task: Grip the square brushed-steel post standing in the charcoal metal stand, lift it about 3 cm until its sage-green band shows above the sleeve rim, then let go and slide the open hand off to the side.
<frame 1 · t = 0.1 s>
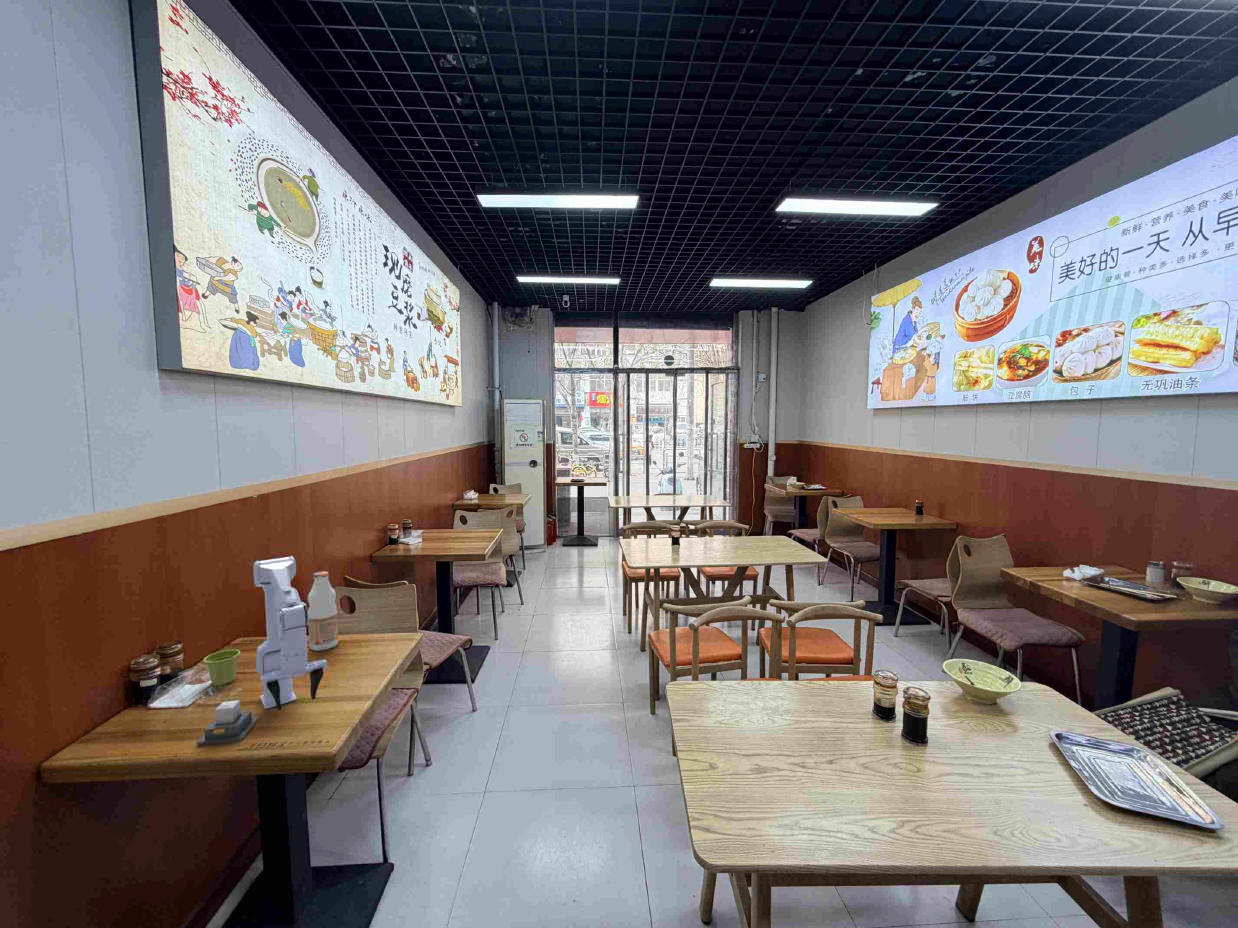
hand: (296, 702, 134), 10 cm above the table, fingers open, 7 cm apart
plant pot: (223, 682, 166), on the table
stand base: (229, 732, 138), on the table
fruit juice: (324, 646, 194), on the table
post: (228, 716, 138), point 4 cm above the table, slide at 0.0 cm
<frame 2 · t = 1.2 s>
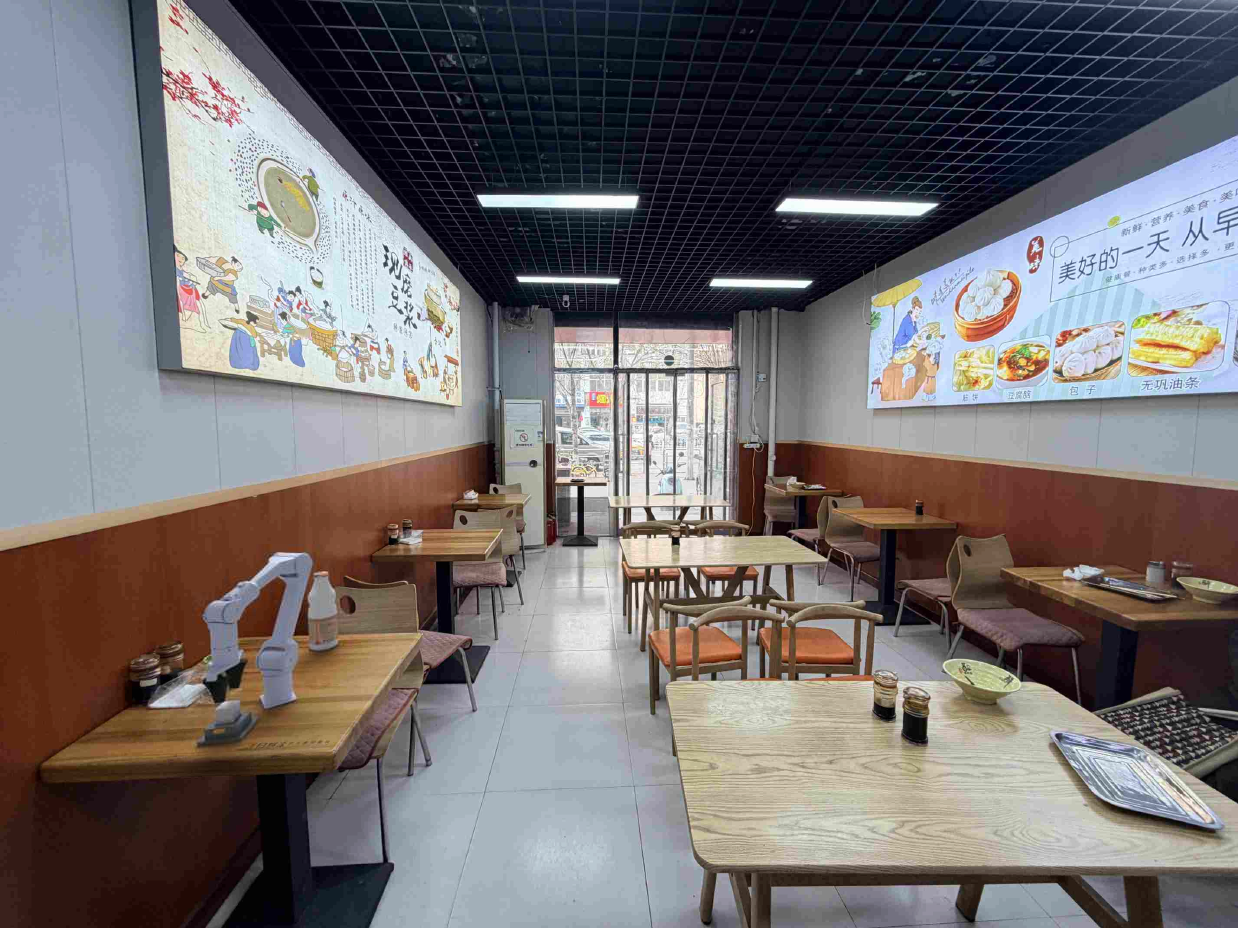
hand: (227, 694, 137), 10 cm above the table, fingers open, 7 cm apart
nothing on the table moved.
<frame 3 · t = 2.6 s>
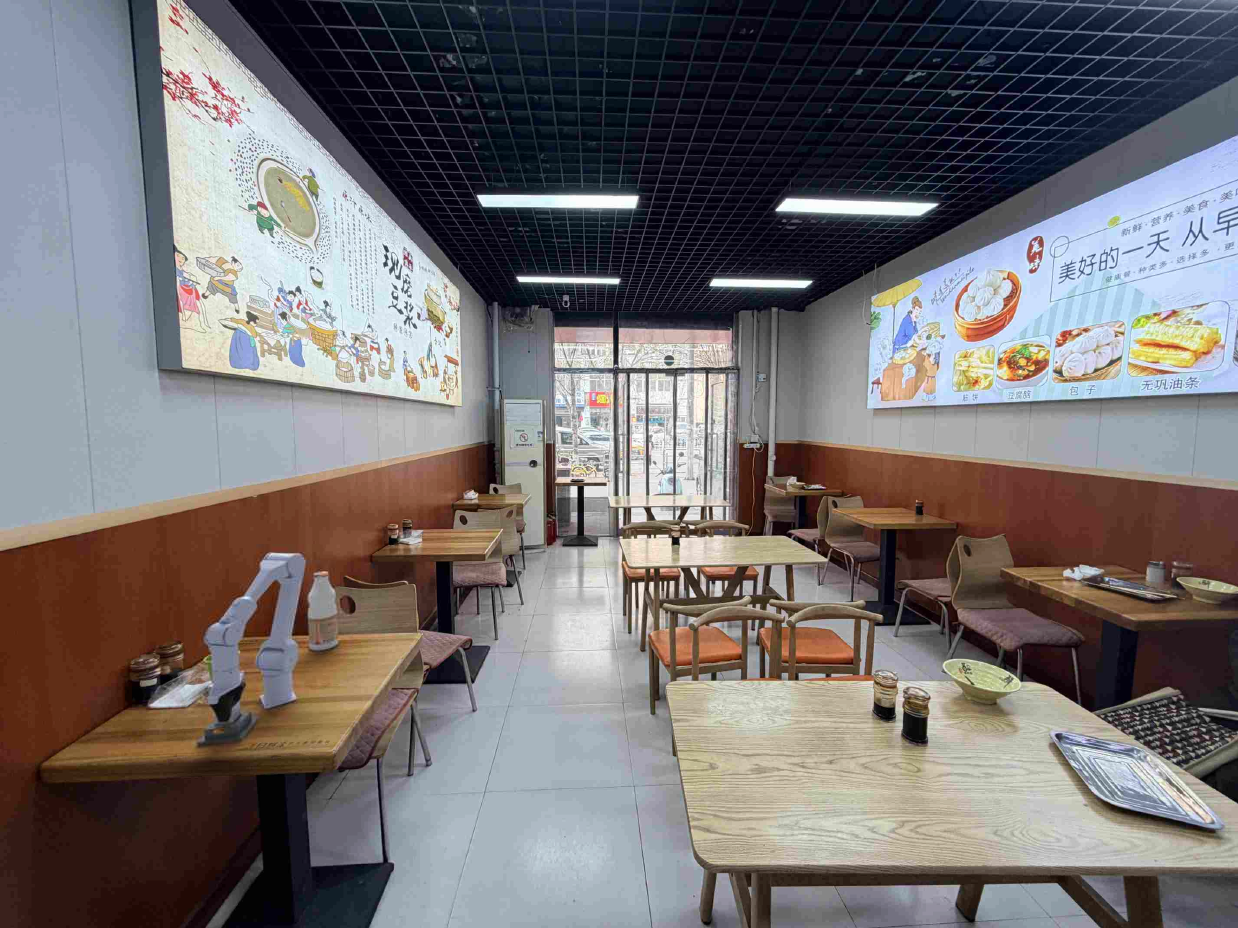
hand: (228, 716, 138), 4 cm above the table, fingers closed on post, 4 cm apart
post: (228, 716, 138), point 4 cm above the table, slide at 0.0 cm, touching gripper
everything else where it was.
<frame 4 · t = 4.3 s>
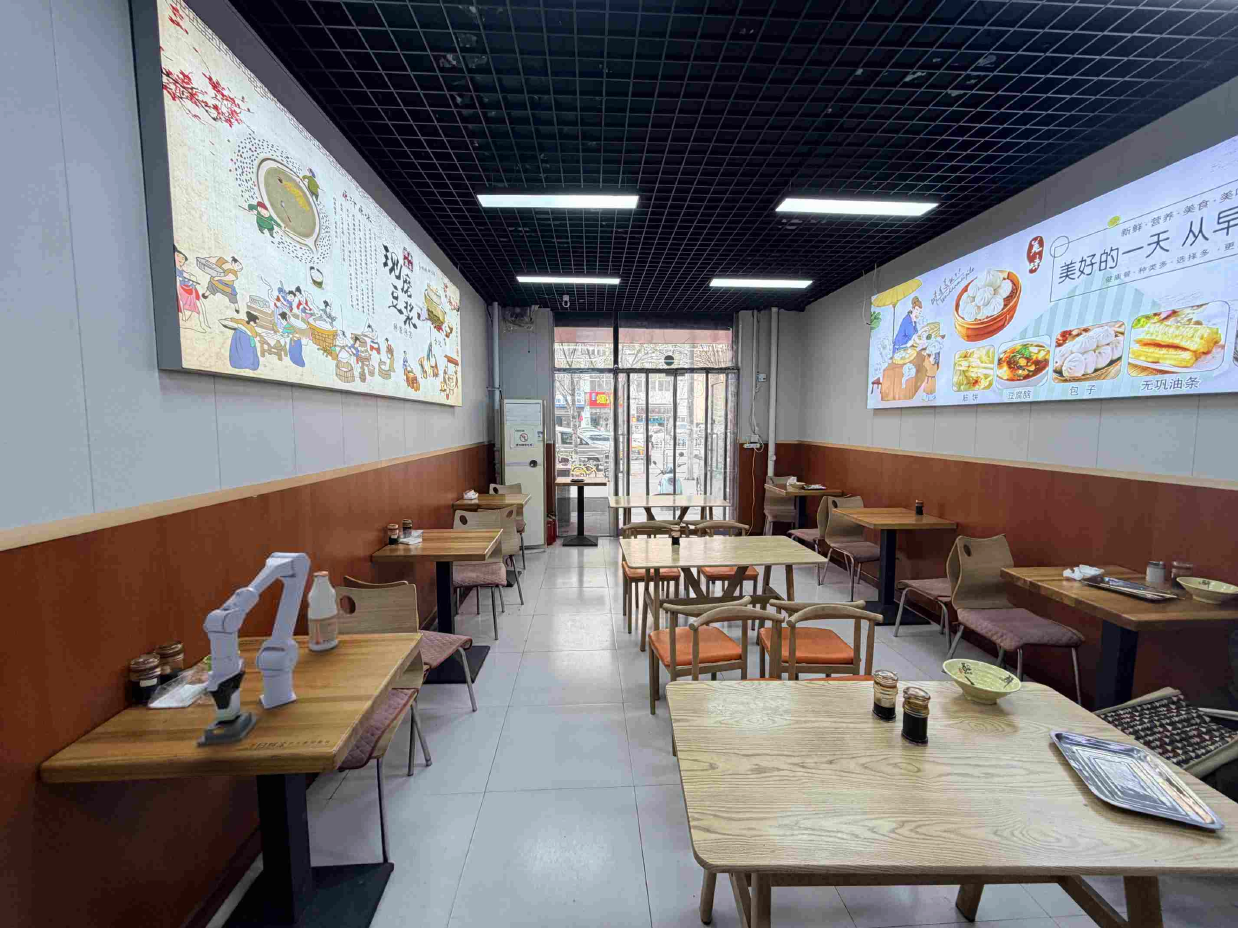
hand: (227, 703, 137), 8 cm above the table, fingers closed on post, 4 cm apart
post: (227, 704, 137), point 8 cm above the table, slide at 3.4 cm, touching gripper
everything else where it was.
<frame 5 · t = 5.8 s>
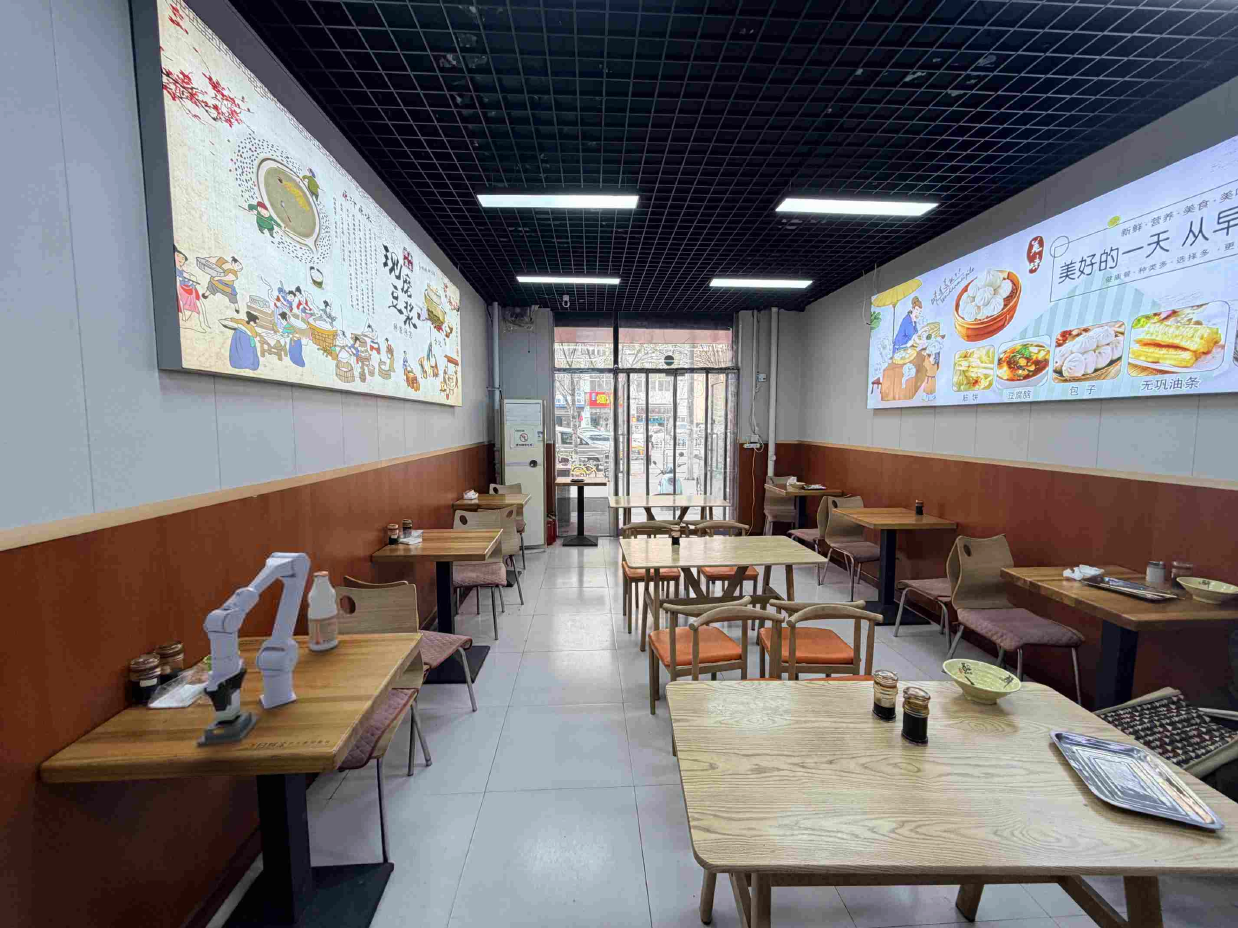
hand: (227, 703, 137), 8 cm above the table, fingers open, 6 cm apart
post: (227, 704, 137), point 8 cm above the table, slide at 3.4 cm
everything else where it was.
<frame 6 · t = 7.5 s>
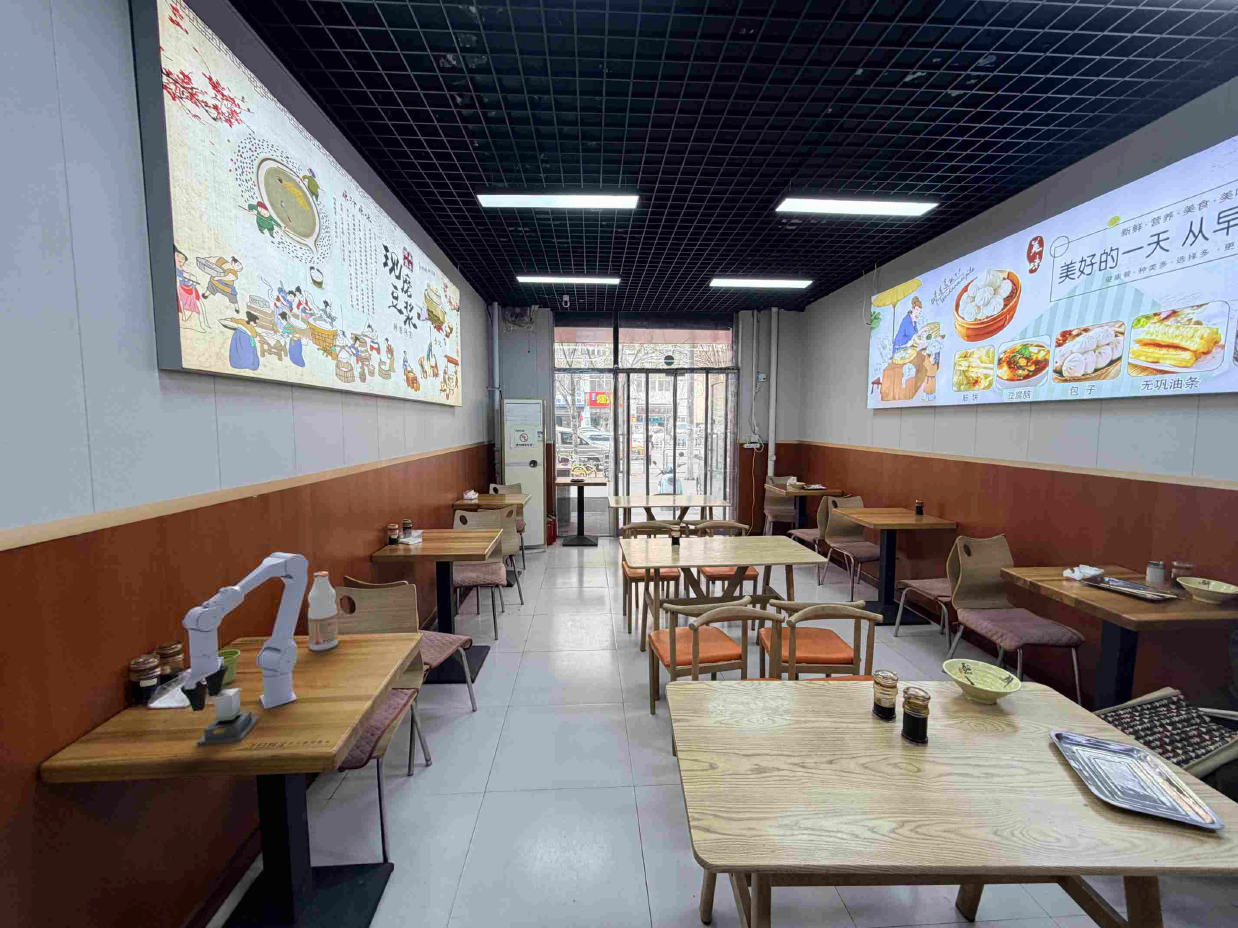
hand: (206, 702, 136), 9 cm above the table, fingers open, 7 cm apart
nothing on the table moved.
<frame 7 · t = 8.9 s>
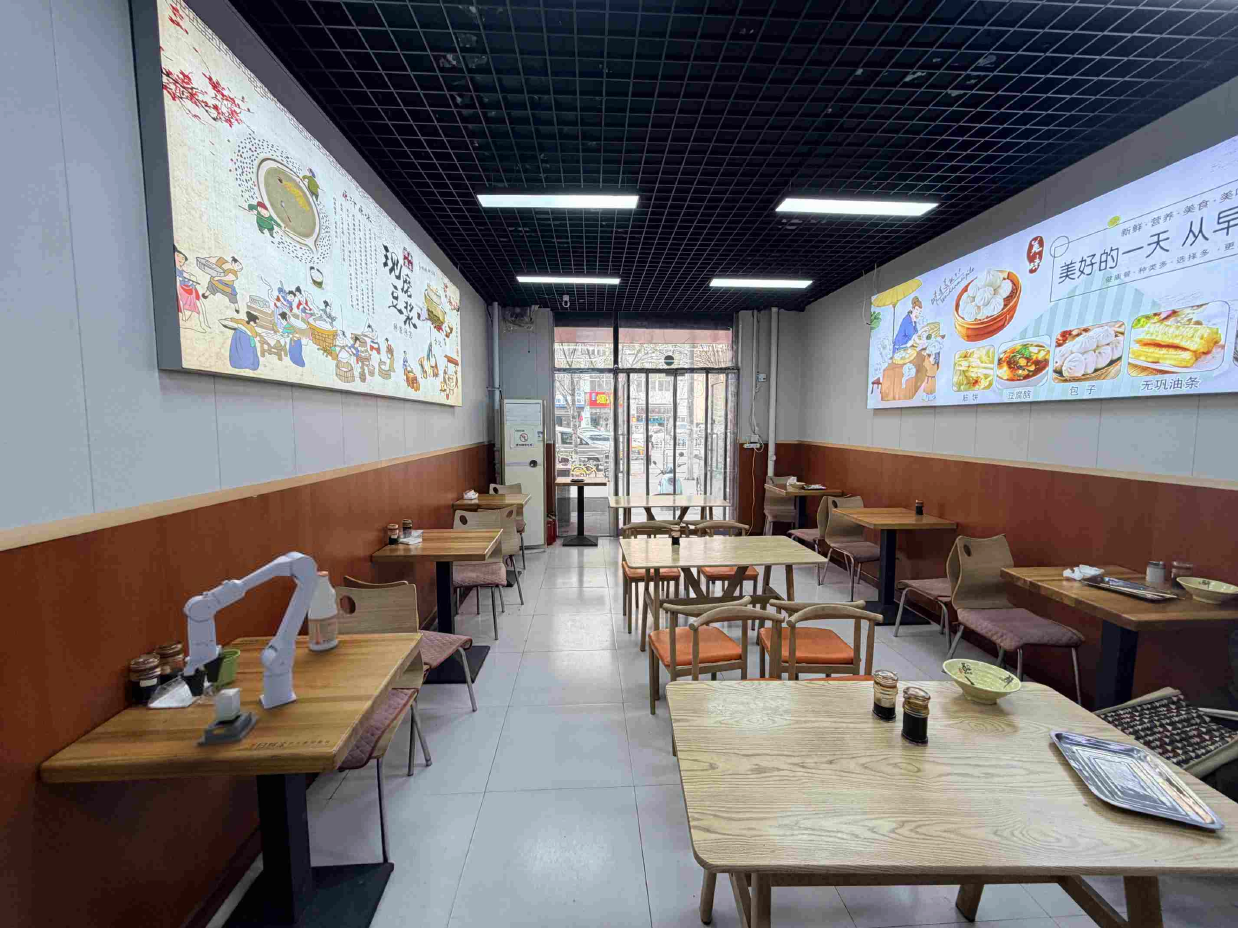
hand: (205, 688, 141), 10 cm above the table, fingers open, 7 cm apart
nothing on the table moved.
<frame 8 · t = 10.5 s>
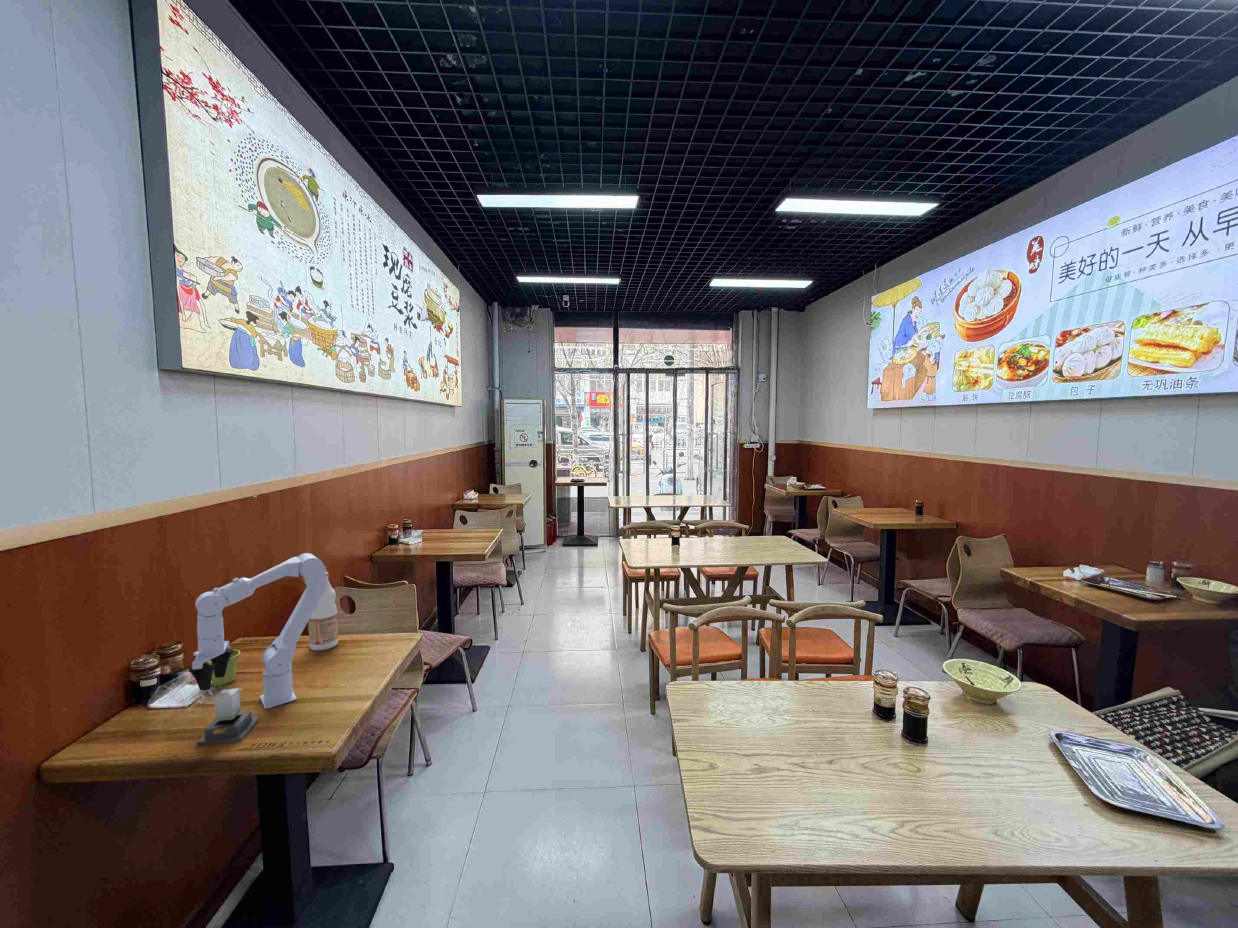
hand: (212, 683, 144), 10 cm above the table, fingers open, 7 cm apart
nothing on the table moved.
at the end: post slide at 3.4 cm; the gripper is holding nothing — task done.
